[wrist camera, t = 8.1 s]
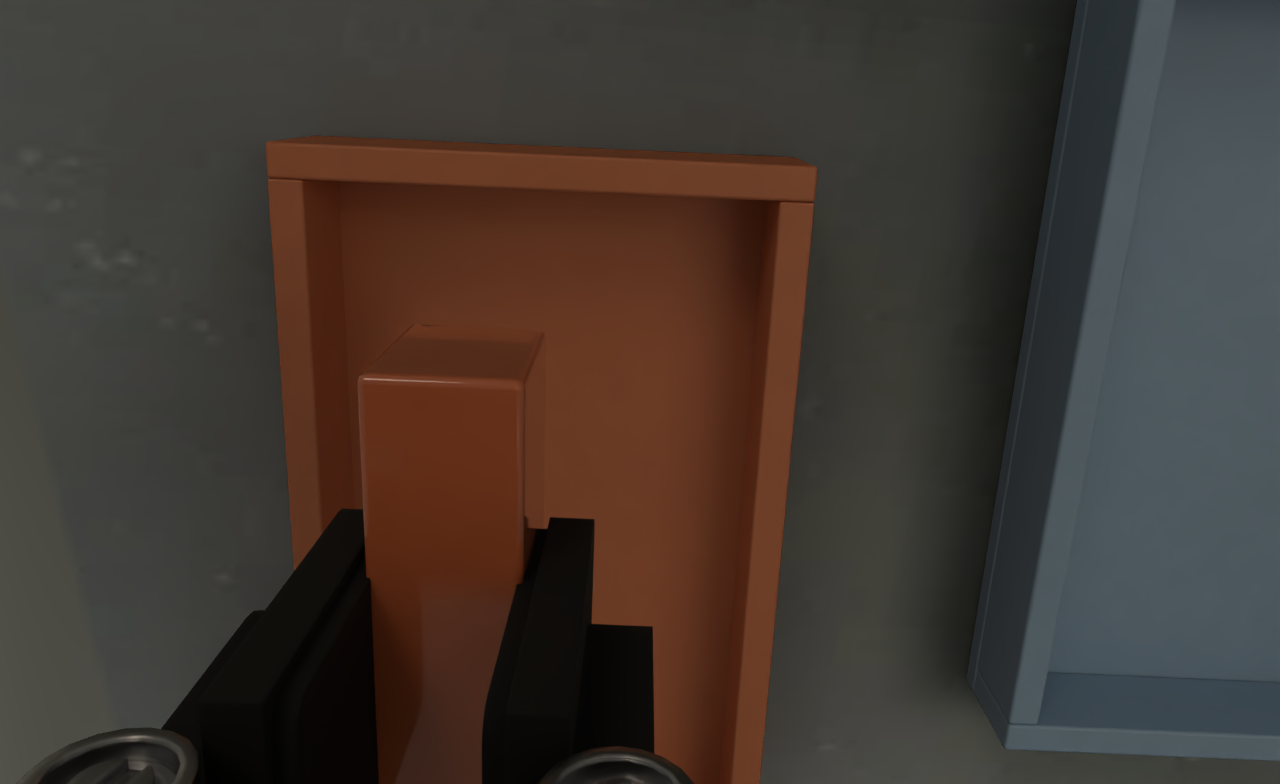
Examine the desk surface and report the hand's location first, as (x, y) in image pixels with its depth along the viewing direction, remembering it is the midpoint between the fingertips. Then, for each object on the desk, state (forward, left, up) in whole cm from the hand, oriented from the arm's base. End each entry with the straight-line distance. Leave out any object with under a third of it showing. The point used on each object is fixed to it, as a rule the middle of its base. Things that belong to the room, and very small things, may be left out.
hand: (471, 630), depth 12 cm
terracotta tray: (+2, 0, -9) cm, 9 cm away
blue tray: (-2, +14, -9) cm, 17 cm away
